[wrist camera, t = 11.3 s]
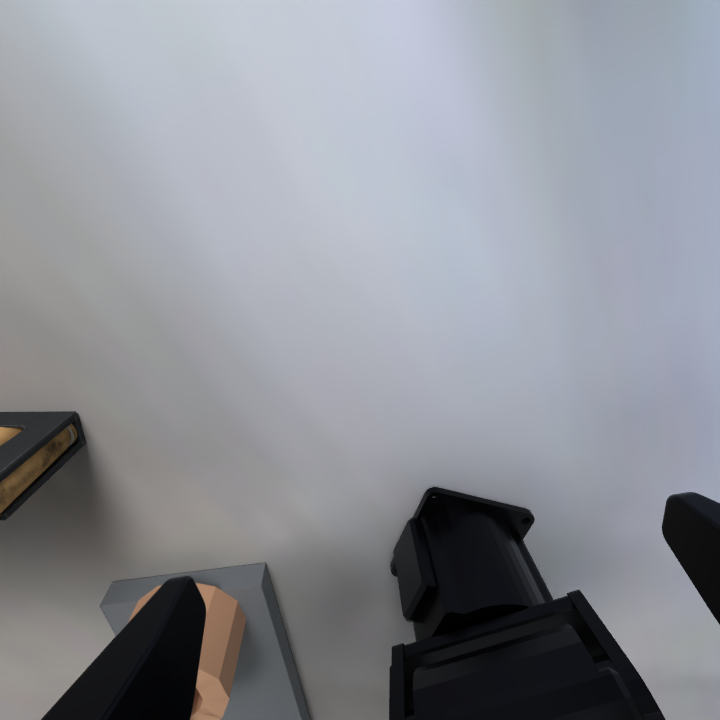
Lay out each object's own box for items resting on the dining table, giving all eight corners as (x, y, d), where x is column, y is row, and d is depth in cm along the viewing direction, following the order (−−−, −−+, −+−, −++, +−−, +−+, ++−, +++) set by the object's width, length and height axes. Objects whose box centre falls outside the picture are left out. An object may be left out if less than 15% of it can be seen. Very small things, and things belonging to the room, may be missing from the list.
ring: (255, 594, 23) (239, 671, 19) (231, 660, 25) (213, 741, 22) (144, 572, 22) (105, 650, 18) (129, 643, 24) (92, 726, 20)
